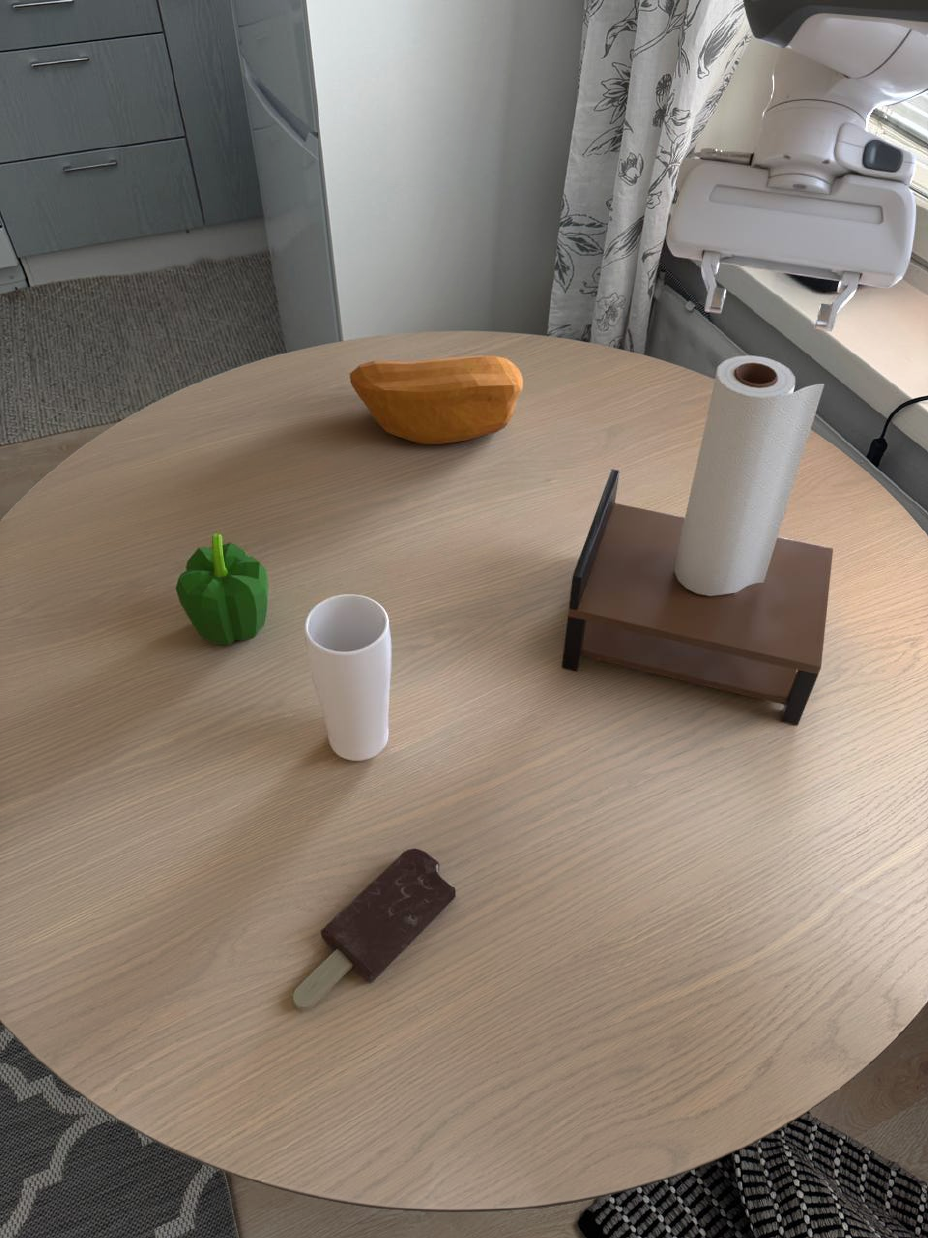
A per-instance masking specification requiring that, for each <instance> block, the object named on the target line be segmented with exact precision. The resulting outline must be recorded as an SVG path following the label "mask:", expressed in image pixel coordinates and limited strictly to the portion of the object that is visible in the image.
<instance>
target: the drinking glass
mask: <svg viewBox="0 0 928 1238" xmlns="http://www.w3.org/2000/svg"><path fill="white" fill-rule="evenodd" d="M303 624H304V625H303V631H304V643H305V651H306V658H307V663H308V667H309V671H310V675H311V679H312V682H313V686H314V689H315V693H316V695H317V699H318V703H319V706H320V709H321V713H322V717H323V721H324V724H325V728H326V733H327V738H328V743H329V745H330V748H331V749H332V751H333V752H334V753H335V754H336V755H337V756H339V757H340V758H342V759H344V760H347V761H352V762H362V761H363V762H364V761H367V760H370V759H372V758H374V757H376V756H378V755H379V754H381V752H383V750H384V749H385V747H386V746H387V744H388V741H389V736H390V727H389V713H390V712H389V711H390V695H391V680H392V663H393V662H392V661H393V660H392V657H393V653H392V650H393V649H392V636H391V628H390V621H389V616H388V613H387V611H386V610H385V609H384V607H383V606H382V605H381V604H380V603H379V602H378V601H376V600H375V599H373V598H370V597H368V596H364V595H361V594H353V593H346V594H345V593H344V594H338V595H334V596H331V597H328V598H326V599H323V600H322V601H320V602H319V603H317V604H316V605H314V607H312V608H311V610H309V612H308V614H307V615H306V617H305V620H304V623H303Z"/></svg>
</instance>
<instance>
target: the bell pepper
mask: <svg viewBox="0 0 928 1238" xmlns="http://www.w3.org/2000/svg"><path fill="white" fill-rule="evenodd" d="M175 591H176V594H177V598H178V601H179V604H180V605H181V608H182V609H183V611H184V612H185V614H186V616H187V618H188V619H189V621H190V622H191V625H192V626H193V628H194V629H195V630H196V631H197V633H198V634H199V636H201V638H202V639H204V640H206V641H209V642H211V643H214V644H216V645H219V646H229V645H232V644H233V643H234V642H235V641H242V642H243V641H247V640H250V639H254V638H256V635H257V634H258V633H259V632H260V631H261V629H263V627H264V626H265V624H266V623H265V622H266V617H267V609H268V601H269V599H268V598H269V581H268V574H267V569H266V568H265V567H264V565H263V564H262V563H261V561H259V560H258V559H257V558H256V557H254V556H249V554H248V553H247V552H246V551H245V550H244V549H243V548H241V547H240V546H238V545H237V544H235V543H234V542H232V541H230V542H228V543H225V544H224V543H223V535H222V534H220V533H213V534H212V535H211V546H210V547H209V546H208V547H198V548H197V549H196V550H195V551H194V552H193V553H192V555H190V557H189V558H188V560H187V562H186V565H185V570H184V571H183V572H181V573H180V574H179V575H178V579H177V581H176V585H175Z"/></svg>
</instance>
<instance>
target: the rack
mask: <svg viewBox="0 0 928 1238" xmlns="http://www.w3.org/2000/svg"><path fill="white" fill-rule="evenodd" d="M619 479H620V470H618V469H613V468H612V469H611V470H610V472H609V475H608V478H607V481H606V484H605V487H604V489H603V492H602V495H601V498H600V499H599V503H598V506H597V509H596V511H595V514H594V516H593V520H592V522H591V525H590V528H589V530H588V533H587V535H586V538H585V541H584V544H583V547H582V550H581V552H580V555H579V557H578V560H577V563H576V566H575V568H574V571H573V574H572V577H571V587H570V595H569V604H568V613H567V620H566V627H565V635H564V636H565V638H564V645H563V654H562V661H561V668H562V669H564V670H570V671H573V672H578V670H579V666H580V664H581V660H582V657H585V658H589V659H593V660H598V661H601V662H606V663H610V664H614V665H619V666H621V667H627V668H631V669H635V670H639V671H643V672H647V673H651V674H656V675H659V676H664V677H667V678H672V679H677V680H681V681H684V682H689V683H693V684H695V685H696V684H697V685H699V686H704V687H705V686H706V687H710V688H714V689H717V690H722V691H725V692H730V693H733V694H738V695H743V696H746V697H750V698H754V699H759V700H762V701H768V702H771V703H775V704H780V705H783V708H782V712H781V718H780V719H781V722H782V723H786V724H789V725H794V726H799V725H800V724H799V723H800V722H801V719H802V717H803V715H804V711H805V709H806V706H807V705H808V701H809V699H810V696H811V694H812V691H813V689H814V686H815V684H816V681H817V679H818V677H819V674H820V672H821V668H822V663H823V652H824V644H825V643H824V642H825V633H826V623H827V612H828V605H829V604H828V603H829V595H830V594H829V593H830V585H831V584H830V583H831V575H832V574H831V573H832V566H833V564H832V563H833V555H834V548H833V547H829V546H824V545H820V544H814V543H810V542H806V541H801V540H796V539H791V538H786V537H781V536H778V537H777V540H776V543H775V547H774V550H773V553H772V556H771V560H770V563H769V566H768V569H767V573H766V576H765V579H764V582H763V583H755V584H752V585H749V586H746V587H745V588H743V589H741V590H740V591H738V592H736V593H729V594H723V595H715V596H707V595H702V594H697V593H695V592H693V591H691V590H689V589H687V588H685V587H684V586H683V585H682V584H681V583H680V582H679V581H678V579H677V577H676V574H675V572H674V569H675V562H676V558H677V553H678V548H679V544H680V539H681V534H682V530H683V525H684V521H685V516H680V515H675V514H670V513H666V512H660V511H655V510H651V509H647V508H641V507H636V506H631V505H626V504H622V503H616V498H617V492H618V485H619Z"/></svg>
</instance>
